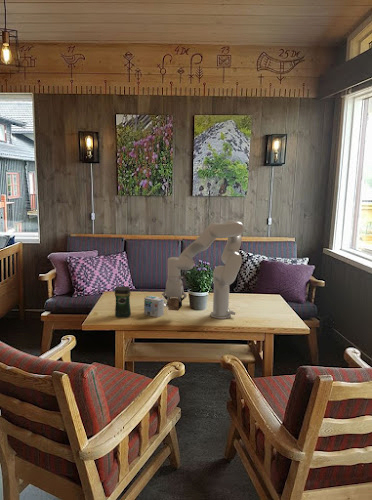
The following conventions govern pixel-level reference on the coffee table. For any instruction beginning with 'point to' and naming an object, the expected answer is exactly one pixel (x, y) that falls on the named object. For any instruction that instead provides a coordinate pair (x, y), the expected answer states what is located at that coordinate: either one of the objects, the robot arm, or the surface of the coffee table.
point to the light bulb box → (154, 306)
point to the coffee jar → (122, 301)
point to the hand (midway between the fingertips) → (174, 307)
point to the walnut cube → (173, 304)
